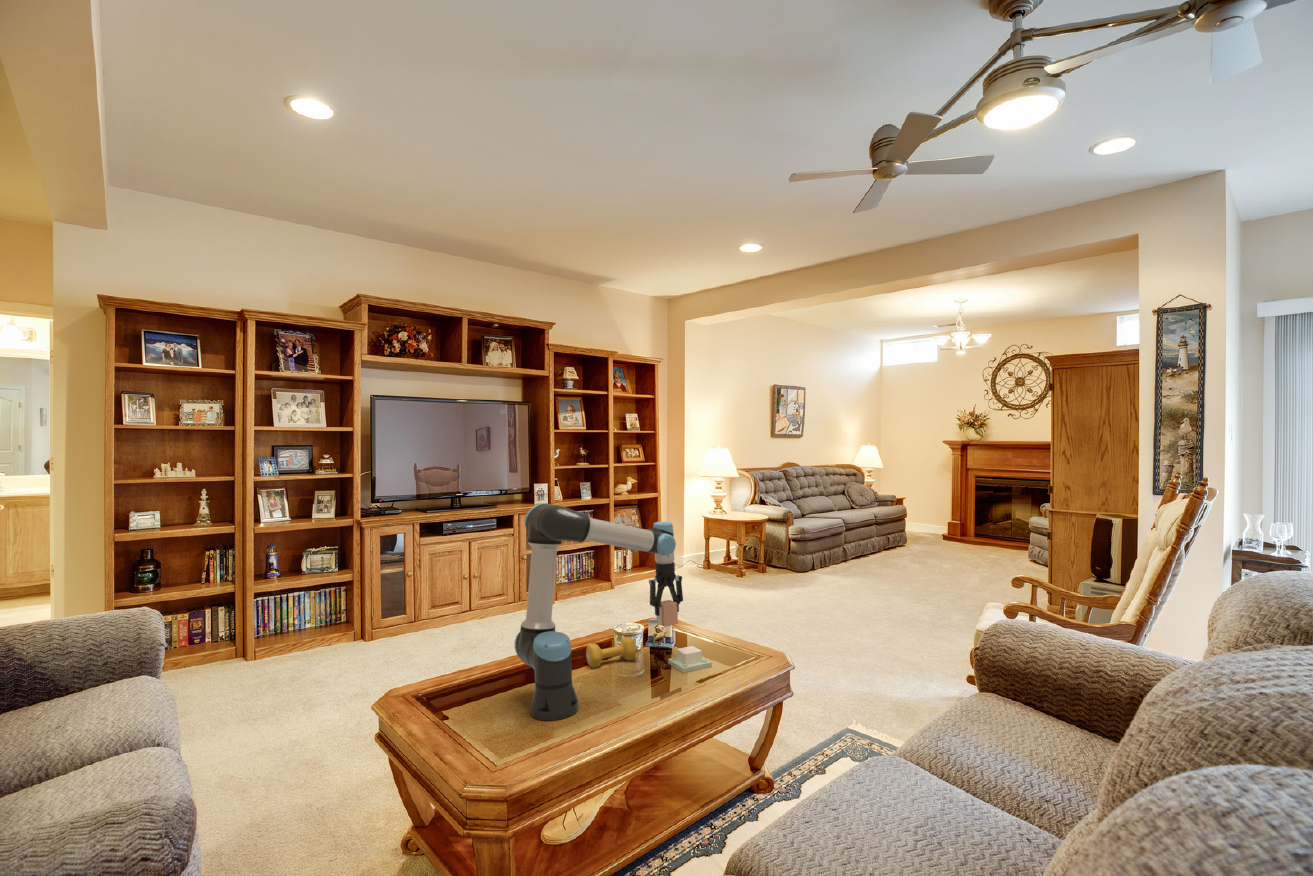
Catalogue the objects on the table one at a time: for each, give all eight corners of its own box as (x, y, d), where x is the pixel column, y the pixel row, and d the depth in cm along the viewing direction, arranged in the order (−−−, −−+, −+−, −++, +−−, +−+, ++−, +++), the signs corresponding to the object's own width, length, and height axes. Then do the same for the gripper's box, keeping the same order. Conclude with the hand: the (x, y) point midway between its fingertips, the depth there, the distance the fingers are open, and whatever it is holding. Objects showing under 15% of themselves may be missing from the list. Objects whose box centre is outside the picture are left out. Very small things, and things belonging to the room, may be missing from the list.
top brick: (664, 626, 229) (663, 605, 229) (656, 623, 234) (656, 602, 234) (678, 624, 231) (677, 603, 232) (670, 620, 237) (669, 599, 237)
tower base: (683, 673, 220) (682, 657, 220) (668, 663, 230) (667, 648, 231) (711, 666, 225) (710, 651, 225) (695, 657, 236) (694, 642, 236)
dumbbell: (630, 655, 242) (629, 634, 242) (638, 661, 234) (637, 640, 234) (584, 663, 234) (583, 642, 235) (591, 671, 226) (591, 649, 226)
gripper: (647, 566, 225) (649, 629, 225) (691, 560, 234) (693, 620, 234) (638, 563, 232) (641, 624, 232) (681, 557, 241) (683, 616, 240)
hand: (667, 622), depth 233 cm, fingers closed on top brick, 6 cm apart
